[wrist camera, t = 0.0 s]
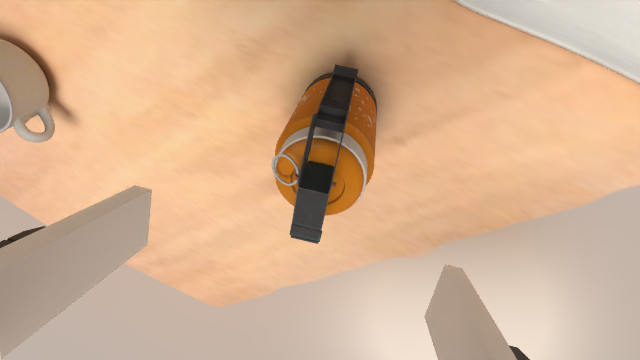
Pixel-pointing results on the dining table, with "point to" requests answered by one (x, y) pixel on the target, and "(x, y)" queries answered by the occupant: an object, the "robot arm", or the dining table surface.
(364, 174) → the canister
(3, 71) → the teacup
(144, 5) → the dining table surface
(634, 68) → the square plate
